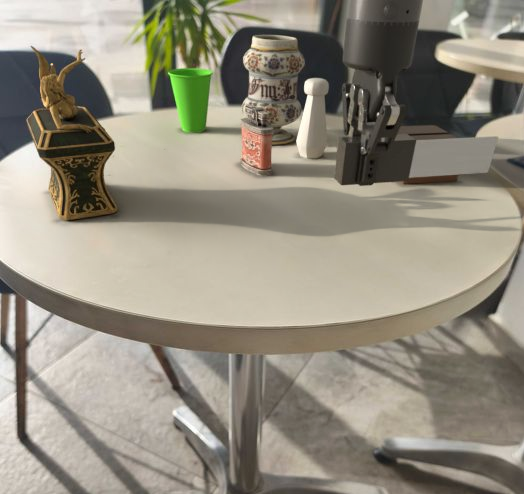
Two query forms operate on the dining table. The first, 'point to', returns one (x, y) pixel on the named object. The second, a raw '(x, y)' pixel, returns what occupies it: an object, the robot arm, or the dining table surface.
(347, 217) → the dining table surface
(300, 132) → the salt shaker
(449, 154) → the knife
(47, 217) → the dining table surface
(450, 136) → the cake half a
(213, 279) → the dining table surface
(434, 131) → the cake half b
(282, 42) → the apothecary jar
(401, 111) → the robot arm
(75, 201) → the decorative box
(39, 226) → the dining table surface
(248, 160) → the lighter
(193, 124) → the cup
